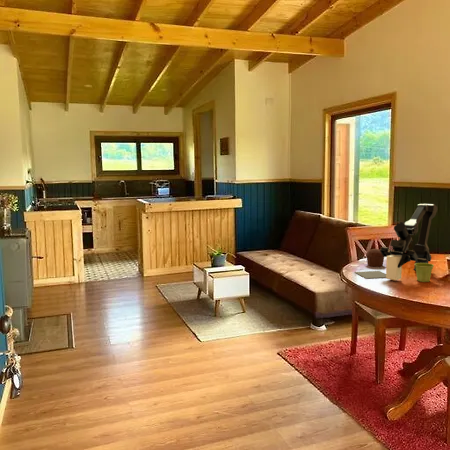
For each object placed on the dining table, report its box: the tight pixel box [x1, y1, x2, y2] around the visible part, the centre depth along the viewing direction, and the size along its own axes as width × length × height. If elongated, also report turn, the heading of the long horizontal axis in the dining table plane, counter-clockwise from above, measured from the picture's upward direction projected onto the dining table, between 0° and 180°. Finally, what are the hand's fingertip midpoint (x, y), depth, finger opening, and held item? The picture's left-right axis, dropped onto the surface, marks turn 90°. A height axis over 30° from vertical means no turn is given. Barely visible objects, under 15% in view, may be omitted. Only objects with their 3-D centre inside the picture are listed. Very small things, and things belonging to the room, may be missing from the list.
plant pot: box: [413, 262, 435, 283], centre depth 236 cm, size 9×9×9 cm
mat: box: [354, 270, 386, 280], centre depth 251 cm, size 15×15×1 cm
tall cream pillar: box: [385, 255, 403, 281], centre depth 236 cm, size 6×6×12 cm
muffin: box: [365, 248, 385, 268], centre depth 275 cm, size 12×11×10 cm
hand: (392, 266), depth 236 cm, fingers closed on tall cream pillar, 6 cm apart
